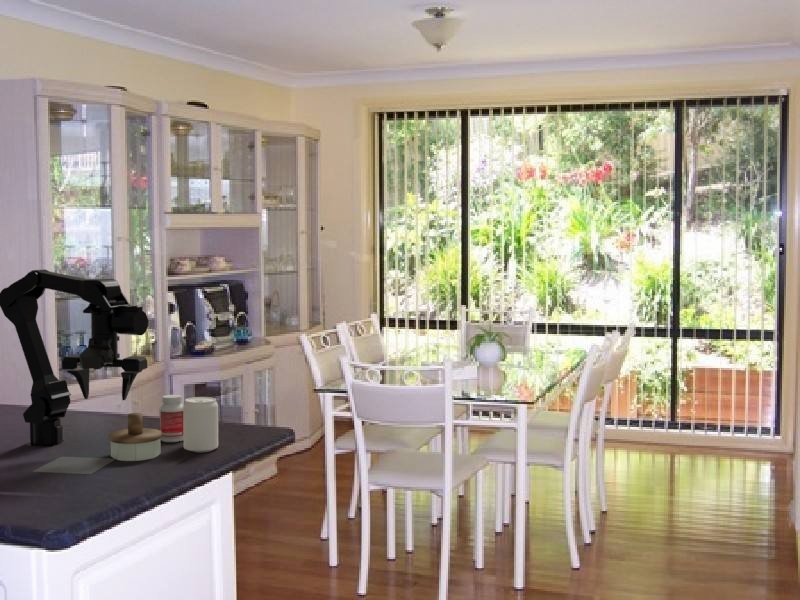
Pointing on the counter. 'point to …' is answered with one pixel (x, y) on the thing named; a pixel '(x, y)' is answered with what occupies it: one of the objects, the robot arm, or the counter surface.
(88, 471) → the mat
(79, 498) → the counter surface
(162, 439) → the pill bottle
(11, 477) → the counter surface
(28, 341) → the robot arm
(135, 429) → the lid
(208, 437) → the beverage can
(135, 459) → the bowl
